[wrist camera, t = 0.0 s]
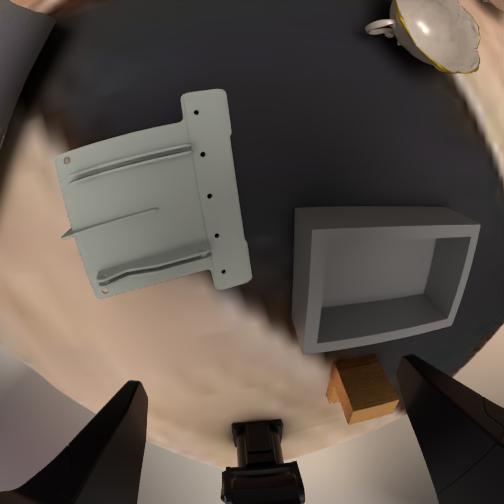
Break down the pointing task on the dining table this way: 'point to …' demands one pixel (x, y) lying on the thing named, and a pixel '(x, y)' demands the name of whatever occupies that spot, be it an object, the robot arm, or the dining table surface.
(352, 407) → the wood grain brick
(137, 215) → the metal bracket
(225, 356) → the dining table surface
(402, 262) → the open box
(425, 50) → the chinaware
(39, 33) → the bluetooth speaker
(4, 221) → the dining table surface
